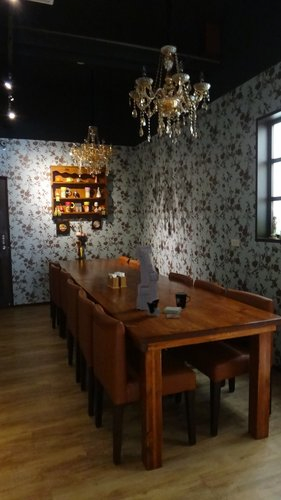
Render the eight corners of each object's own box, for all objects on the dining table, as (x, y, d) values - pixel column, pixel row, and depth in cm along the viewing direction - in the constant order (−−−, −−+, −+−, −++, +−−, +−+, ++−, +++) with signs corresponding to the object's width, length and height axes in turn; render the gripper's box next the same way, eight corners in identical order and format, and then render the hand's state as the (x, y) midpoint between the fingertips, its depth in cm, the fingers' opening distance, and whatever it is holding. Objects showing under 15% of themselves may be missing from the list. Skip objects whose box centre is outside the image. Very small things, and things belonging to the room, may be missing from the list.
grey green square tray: (163, 312, 221) (163, 309, 221) (167, 309, 231) (167, 306, 231) (178, 313, 218) (178, 310, 218) (181, 310, 228) (181, 307, 228)
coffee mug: (172, 306, 239) (172, 292, 239) (183, 305, 242) (183, 291, 242) (180, 309, 229) (180, 295, 228) (191, 308, 232) (191, 294, 231)
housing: (147, 315, 215) (147, 307, 215) (149, 314, 219) (149, 306, 219) (157, 316, 213) (157, 308, 213) (159, 314, 217) (159, 307, 217)
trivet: (166, 318, 207) (166, 317, 207) (166, 315, 215) (166, 314, 215) (179, 318, 207) (179, 317, 207) (178, 315, 215) (178, 313, 215)
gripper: (156, 293, 207) (156, 314, 208) (161, 289, 221) (162, 309, 222) (145, 292, 209) (145, 314, 210) (151, 288, 223) (152, 308, 224)
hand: (153, 311), depth 216 cm, fingers open, 7 cm apart
